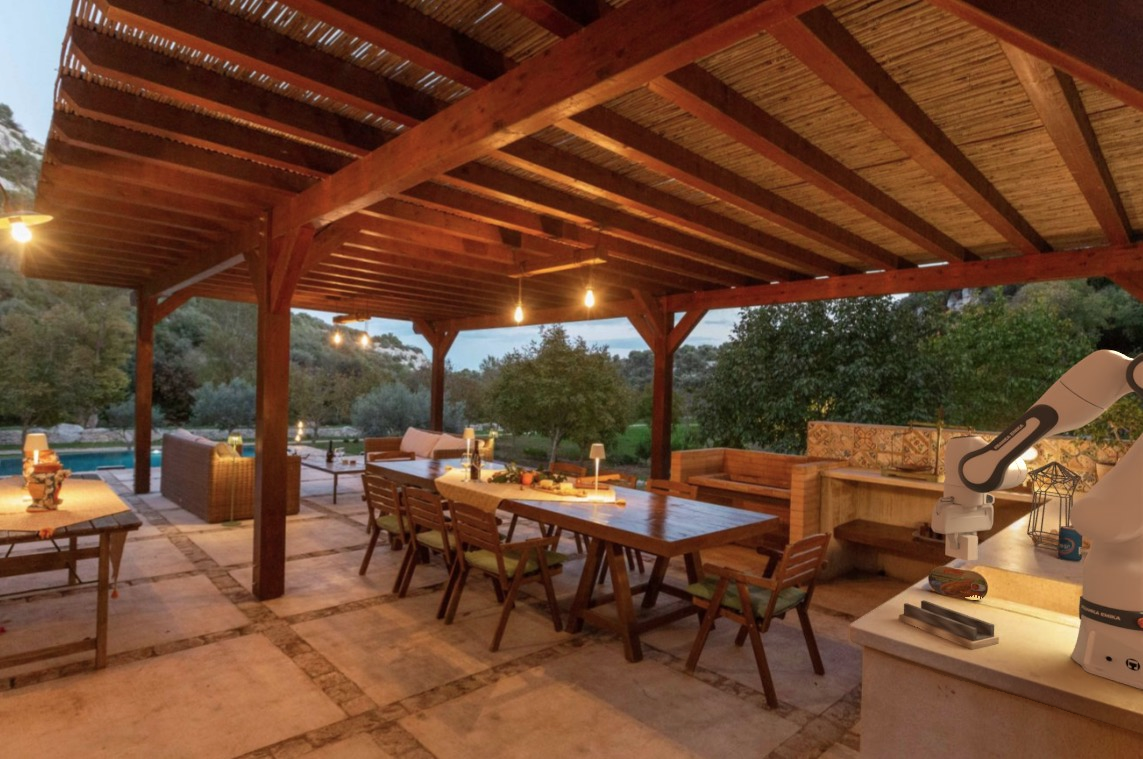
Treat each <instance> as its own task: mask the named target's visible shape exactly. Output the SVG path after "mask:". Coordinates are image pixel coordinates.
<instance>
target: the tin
mask: <svg viewBox="0 0 1143 759" xmlns="http://www.w3.org/2000/svg"><path fill="white" fill-rule="evenodd" d="M928 584H929V586H930V588H932V590H933V591H934V592H935V593H937V594H939V595H943V596H948V597H952V598H958V599H962V600H966V598H965V597H970V596H971V597H972V596H973V595H974V597H975V595H977V598H978V596H980V600H982V599H984V598H985V597H986V595H987V593H988V591H989V584H988V582H987V579H985V577H984V576H983V575H982V574H981V573H979V572H977V571H975V570H970V569H965V568H957V567H953V566H947V565H938V566H935V567H934V568H932V569H931V570H930V571H929V573H928ZM981 597H982V599H981Z"/></svg>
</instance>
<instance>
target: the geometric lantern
mask: <svg viewBox="0 0 1143 759" xmlns="http://www.w3.org/2000/svg"><path fill="white" fill-rule="evenodd" d="M1051 468H1052V469H1051ZM1057 468H1058V470H1059V472H1060V473H1061V475H1060V474H1058V471H1057ZM1050 469H1051V473H1048V472H1049V471H1050ZM1039 473H1040V474H1039ZM1027 475H1029V477H1030V478H1031V482H1032V493H1033V495H1032V501H1031V507H1030V508H1031V509H1030V514H1029V517H1028V518H1029V519H1028V525H1027V530H1026V531H1027V532H1026V533H1027V534H1026V535H1028V536H1029V537H1030V538H1031V539H1032V540H1033V541H1034V542H1035V543H1034V547H1036V548H1041V549H1046V550H1052V551H1057V552H1058V544H1055V543H1058V541H1059V539H1056V538H1051V537H1049V536H1047V537H1046V536H1042V534H1047V535H1053V536H1056V537H1057V536H1058V537H1059V533H1053V532H1047V531H1043V526H1044V519H1045V518H1044V516H1045V508H1046V498H1047V496H1049V497H1055V498H1059V517H1058V519H1059V522H1058V531H1059V530H1060V529H1061V526H1062V504H1063V501H1062V499H1064V500H1065V510H1064V511H1065V512H1064V513H1065V526H1068V527H1070V510H1071V508H1072V506H1073V505H1074V497H1073V496H1074V494H1075V490H1076V488H1077V485H1078V484H1079V482H1080V481H1081V479H1082V478H1083V477H1082V476H1081V475H1078V474H1077V473H1076V472H1074V471H1072V470H1070V469H1069V468H1067V467H1066V466H1064V465H1063V464H1061V463H1060V462H1059V461H1050V462H1049V463H1047V464H1045V465H1043V466H1040V467H1037V468H1036V469H1033V470H1030V471H1029V472H1027ZM1049 475H1050V476H1049ZM1038 476H1039V477H1038ZM1040 477H1041V478H1042V479H1041V478H1040ZM1044 478H1046V479H1050V482H1045V479H1044ZM1057 480H1058V481H1057ZM1038 481H1039V482H1040V483H1042V485H1041V486H1040V485H1039V483H1038ZM1070 481H1071V482H1072V486H1070V487H1069V489H1067V486H1066V485H1065V484H1067V483H1069V482H1070ZM1035 482H1036V484H1037V486H1038V489H1037V490H1035ZM1056 484H1063V487H1064V488H1065V490H1066V491H1067V492H1066V493H1060V492H1059V490H1058V488H1057V487H1056V486H1055V485H1056ZM1044 485H1049V486H1047V488H1046V489H1045V490H1042V487H1043V486H1044ZM1052 486H1053V488H1054V490H1055V491H1056V492H1052V491H1048V490H1049V489H1050V488H1051V487H1052ZM1072 489H1073V490H1072ZM1071 490H1072V492H1071V494H1070V491H1071ZM1047 493H1049V494H1047ZM1053 494H1055V495H1053ZM1038 495H1039V496H1038ZM1042 496H1043V497H1044V498H1043V505H1042V515H1041V523H1040V530H1036V529H1037V524H1038V516H1039V510H1040V504H1041V497H1042ZM1037 497H1038V498H1037ZM1037 499H1038V501H1037ZM1036 506H1037V507H1036ZM1036 508H1037V509H1036ZM1032 515H1033V516H1032ZM1031 520H1032V521H1031ZM1031 523H1032V526H1031ZM1030 527H1032V529H1031V531H1030ZM1071 527H1073V526H1072V525H1071ZM1037 533H1039V534H1037ZM1036 537H1037V538H1036ZM1045 541H1049V542H1045ZM1050 542H1052V543H1050ZM1053 542H1054V544H1053ZM1039 545H1044V546H1039ZM1045 545H1046V546H1051V547H1056V548H1051V547H1045Z"/></svg>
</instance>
